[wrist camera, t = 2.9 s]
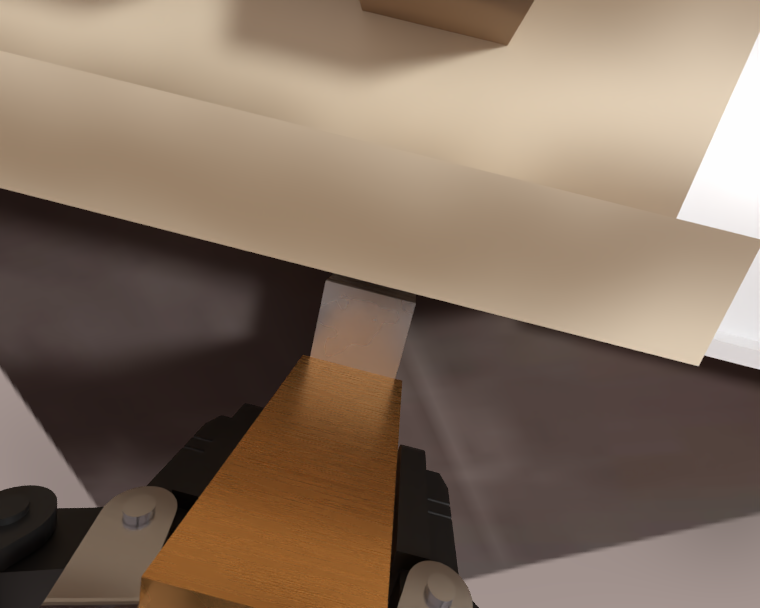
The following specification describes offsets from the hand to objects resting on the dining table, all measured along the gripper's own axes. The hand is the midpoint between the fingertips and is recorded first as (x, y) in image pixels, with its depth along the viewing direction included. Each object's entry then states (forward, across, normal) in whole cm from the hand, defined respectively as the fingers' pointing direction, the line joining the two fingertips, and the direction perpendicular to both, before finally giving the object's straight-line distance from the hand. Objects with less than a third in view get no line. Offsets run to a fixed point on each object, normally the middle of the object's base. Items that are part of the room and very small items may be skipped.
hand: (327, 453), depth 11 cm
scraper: (+6, 0, 0) cm, 6 cm away
